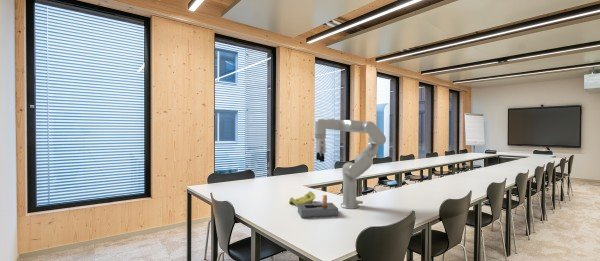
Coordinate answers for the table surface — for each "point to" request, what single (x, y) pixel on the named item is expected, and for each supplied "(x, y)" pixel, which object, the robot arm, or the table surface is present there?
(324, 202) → the peg
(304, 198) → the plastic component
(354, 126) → the robot arm
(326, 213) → the keyhole plate
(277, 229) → the table surface
